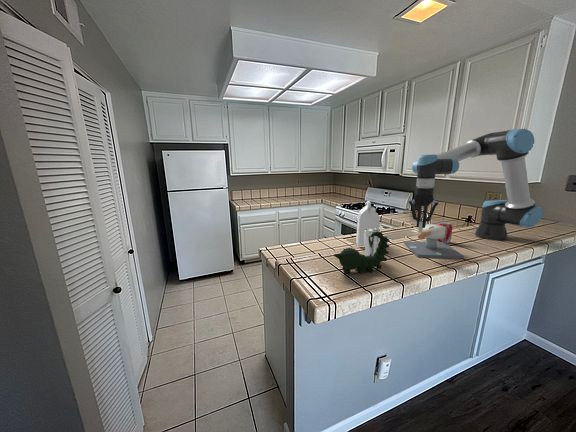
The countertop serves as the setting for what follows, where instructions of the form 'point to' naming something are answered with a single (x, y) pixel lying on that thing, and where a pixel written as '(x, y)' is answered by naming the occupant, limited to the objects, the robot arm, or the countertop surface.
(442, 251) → the post base
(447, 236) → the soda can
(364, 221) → the milk
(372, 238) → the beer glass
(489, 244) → the countertop surface
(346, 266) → the toy figurine
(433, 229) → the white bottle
